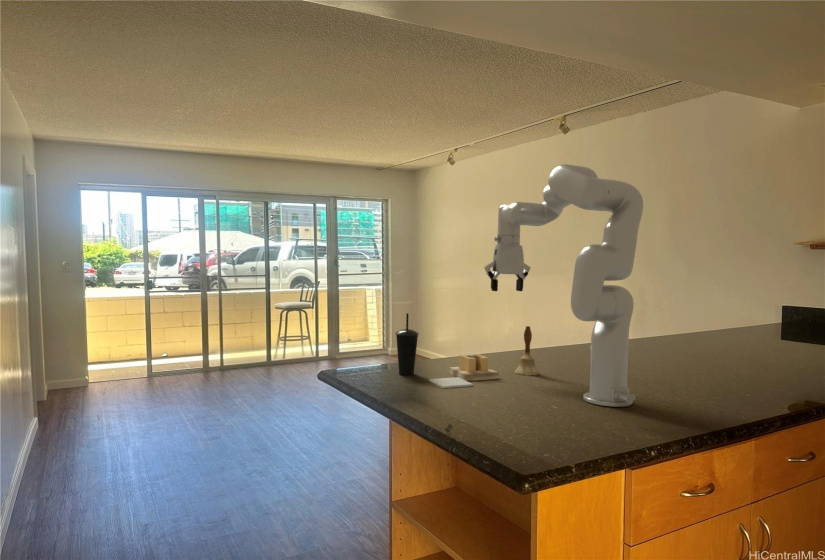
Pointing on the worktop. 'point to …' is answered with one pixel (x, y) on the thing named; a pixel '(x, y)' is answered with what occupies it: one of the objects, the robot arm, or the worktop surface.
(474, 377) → the stand
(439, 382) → the pad
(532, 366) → the hand bell
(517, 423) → the worktop surface
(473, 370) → the c link
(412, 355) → the drinking cup
